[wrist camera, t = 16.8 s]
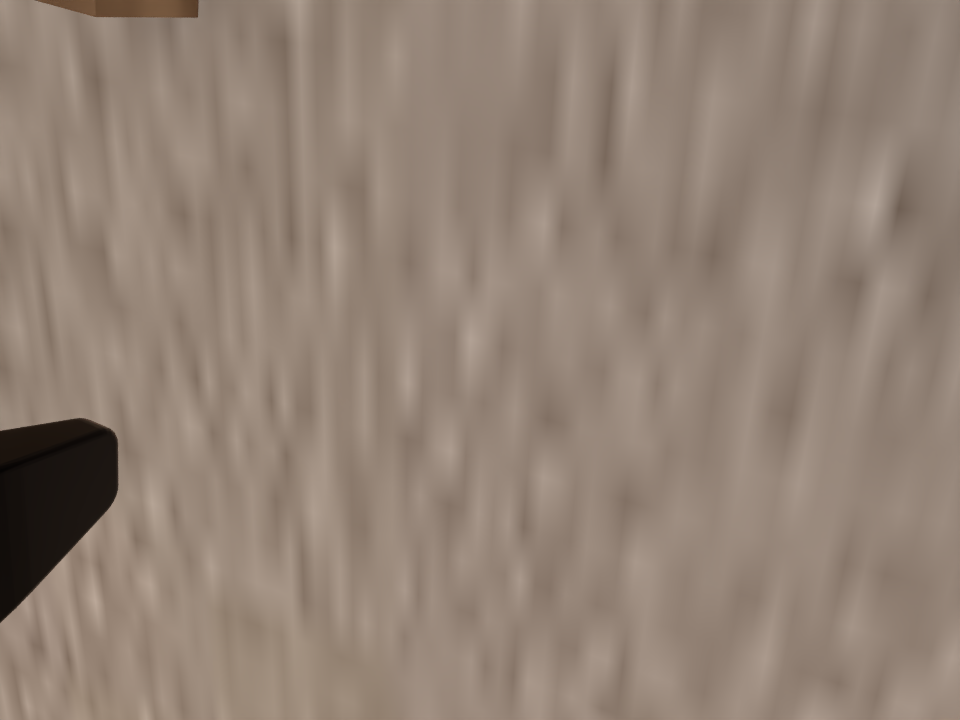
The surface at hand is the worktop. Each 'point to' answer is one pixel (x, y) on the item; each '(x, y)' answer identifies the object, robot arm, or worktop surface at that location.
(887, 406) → the worktop surface
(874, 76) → the worktop surface
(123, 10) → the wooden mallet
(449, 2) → the worktop surface
